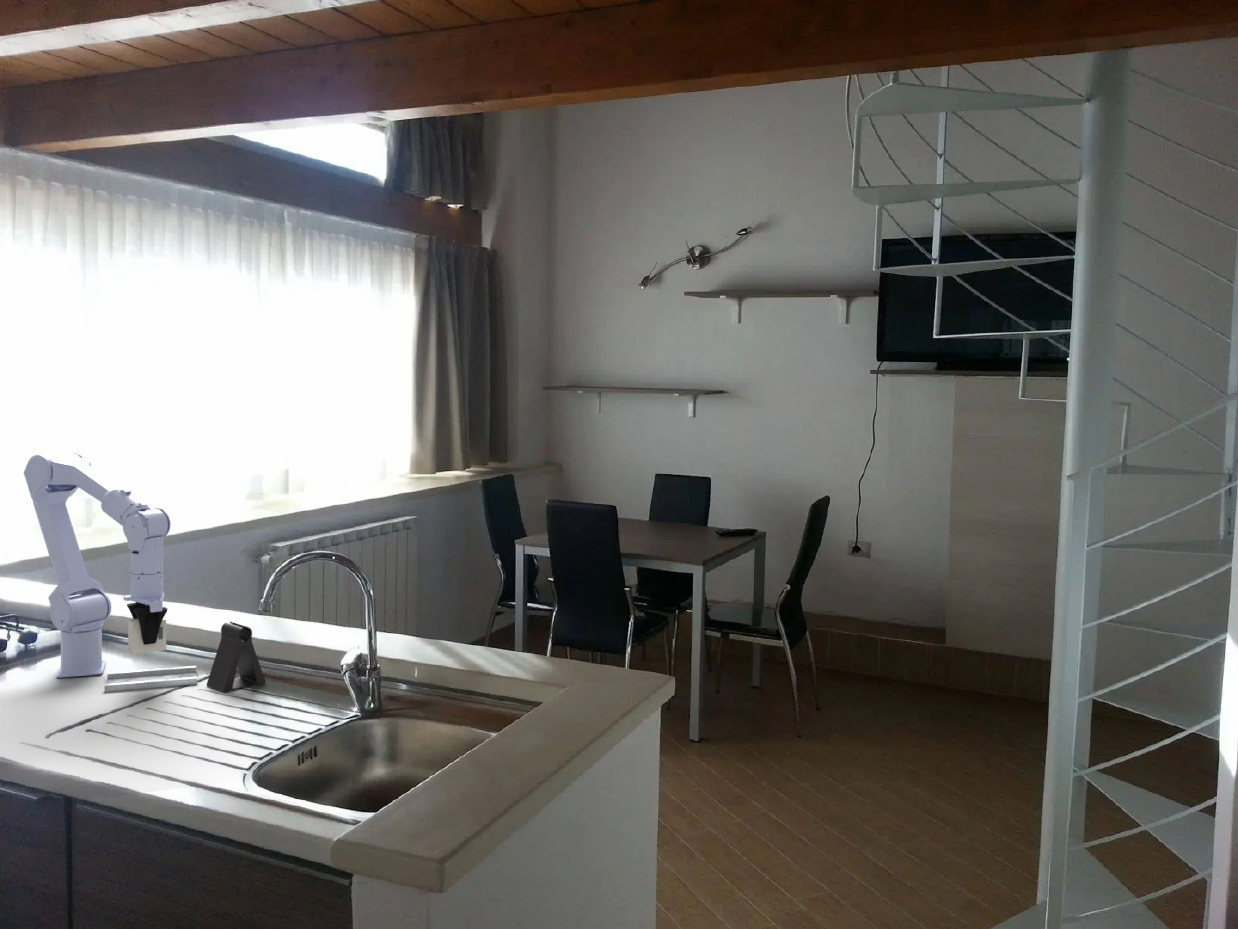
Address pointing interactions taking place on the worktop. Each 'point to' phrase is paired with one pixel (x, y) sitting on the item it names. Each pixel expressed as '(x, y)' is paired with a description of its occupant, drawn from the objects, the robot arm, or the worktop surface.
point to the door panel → (137, 643)
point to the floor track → (150, 678)
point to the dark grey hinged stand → (235, 660)
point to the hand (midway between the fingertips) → (147, 641)
